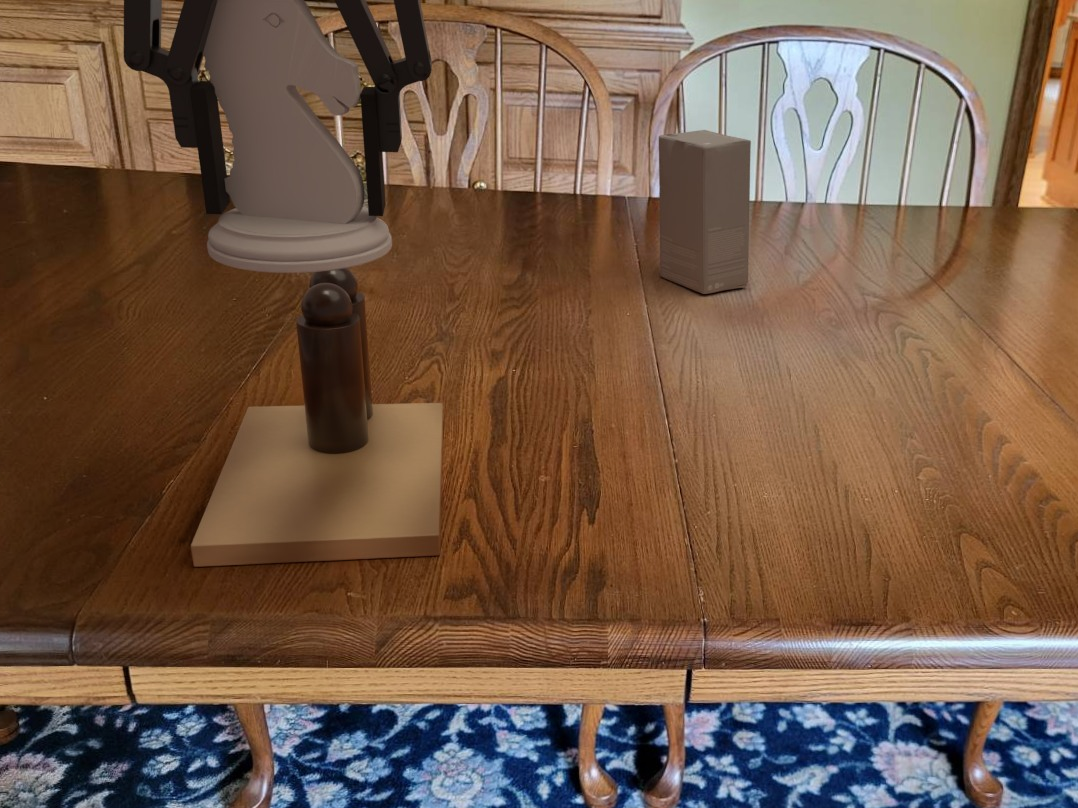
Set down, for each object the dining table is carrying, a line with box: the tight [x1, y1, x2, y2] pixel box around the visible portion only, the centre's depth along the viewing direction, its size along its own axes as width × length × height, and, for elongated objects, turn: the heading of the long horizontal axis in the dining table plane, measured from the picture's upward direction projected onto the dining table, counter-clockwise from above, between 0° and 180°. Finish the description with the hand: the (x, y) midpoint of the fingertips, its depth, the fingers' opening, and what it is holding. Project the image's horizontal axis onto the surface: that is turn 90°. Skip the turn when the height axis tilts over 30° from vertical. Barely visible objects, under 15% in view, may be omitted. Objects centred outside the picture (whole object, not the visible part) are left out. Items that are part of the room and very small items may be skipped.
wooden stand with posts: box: [190, 268, 444, 568], centre depth 71 cm, size 14×20×13 cm
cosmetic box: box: [658, 129, 752, 295], centre depth 117 cm, size 8×7×16 cm
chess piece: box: [203, 0, 393, 274], centre depth 59 cm, size 10×10×15 cm
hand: (299, 208), depth 61 cm, fingers closed on chess piece, 8 cm apart
